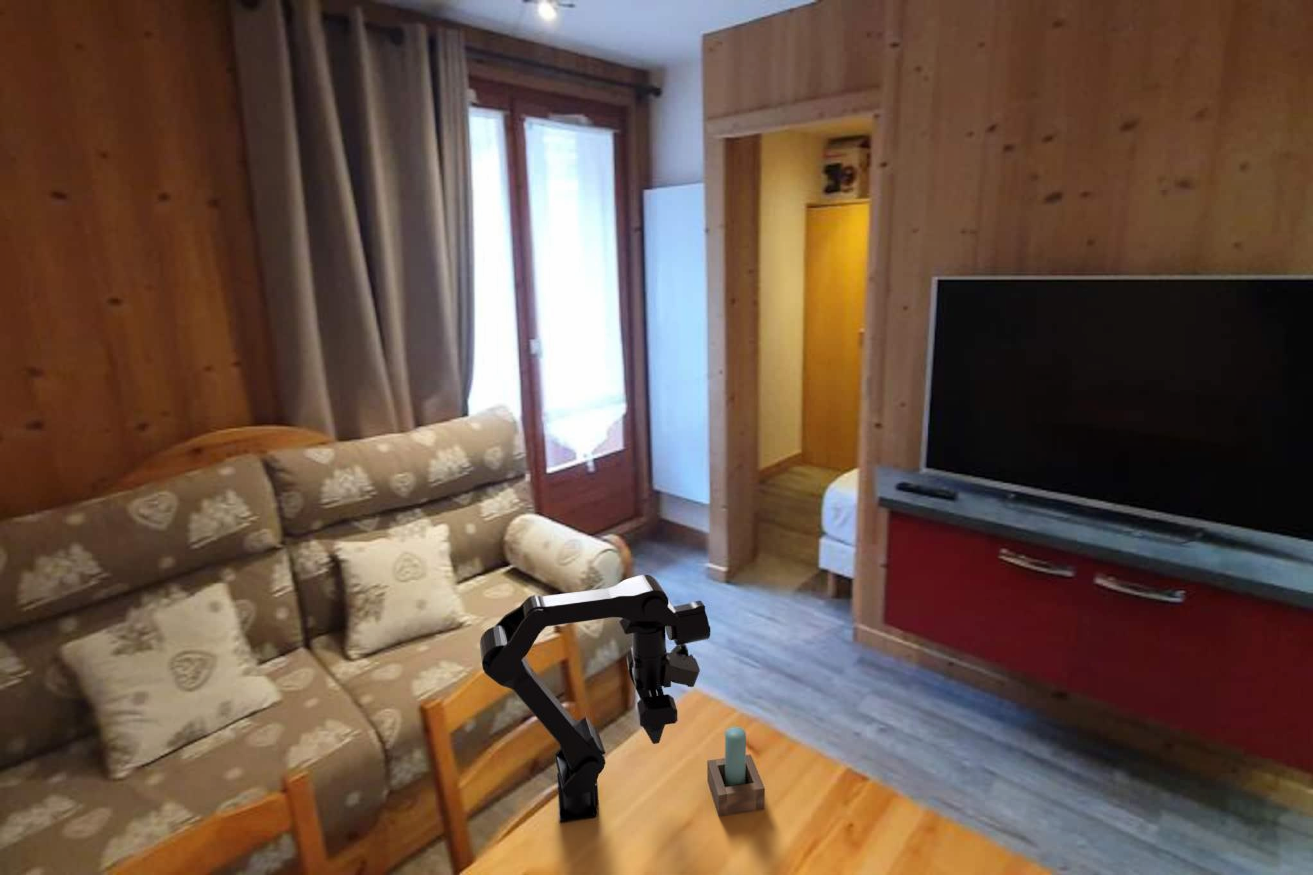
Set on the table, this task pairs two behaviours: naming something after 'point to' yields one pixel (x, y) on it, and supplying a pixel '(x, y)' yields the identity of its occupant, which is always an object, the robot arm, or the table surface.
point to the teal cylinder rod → (735, 756)
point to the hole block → (735, 789)
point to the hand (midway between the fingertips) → (651, 724)
